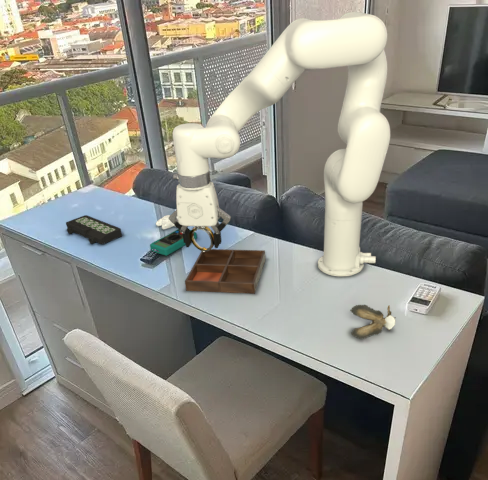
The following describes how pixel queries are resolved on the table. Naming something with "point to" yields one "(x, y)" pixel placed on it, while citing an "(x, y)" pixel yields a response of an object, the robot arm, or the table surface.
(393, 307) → the table surface
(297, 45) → the robot arm
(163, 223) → the astronaut figurine
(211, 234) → the ring
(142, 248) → the table surface
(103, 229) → the digital display
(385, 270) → the table surface
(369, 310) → the eagle figurine
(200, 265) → the tray
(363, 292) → the table surface
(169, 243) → the digital multimeter
